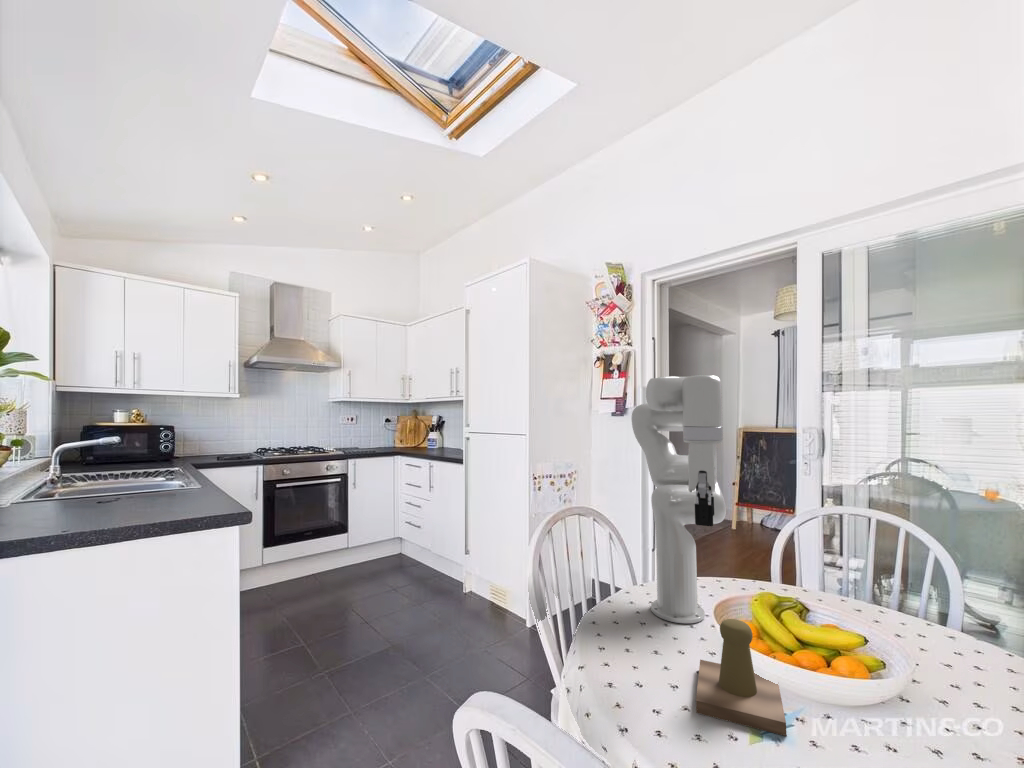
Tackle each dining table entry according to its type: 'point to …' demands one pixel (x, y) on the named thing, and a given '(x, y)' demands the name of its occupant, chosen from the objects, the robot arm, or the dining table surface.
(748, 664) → the olive pawn
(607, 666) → the dining table surface
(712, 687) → the walnut board
